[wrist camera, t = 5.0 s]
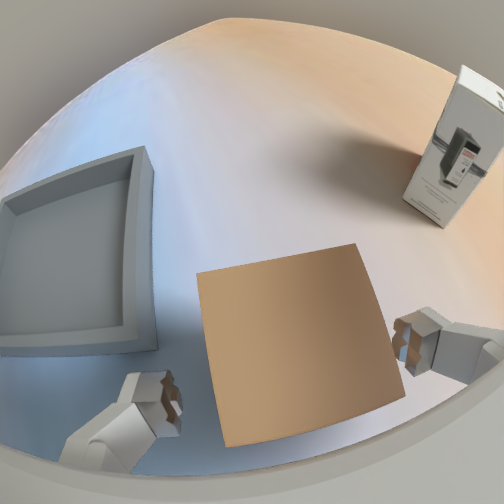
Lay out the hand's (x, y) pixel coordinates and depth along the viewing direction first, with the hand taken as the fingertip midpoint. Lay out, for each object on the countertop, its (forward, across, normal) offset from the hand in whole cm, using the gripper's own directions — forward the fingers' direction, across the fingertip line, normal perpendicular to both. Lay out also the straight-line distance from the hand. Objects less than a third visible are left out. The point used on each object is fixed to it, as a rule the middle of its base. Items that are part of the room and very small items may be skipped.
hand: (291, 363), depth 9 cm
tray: (+12, +15, -3) cm, 19 cm away
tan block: (+4, 0, +4) cm, 6 cm away
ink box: (+13, -18, -3) cm, 22 cm away
